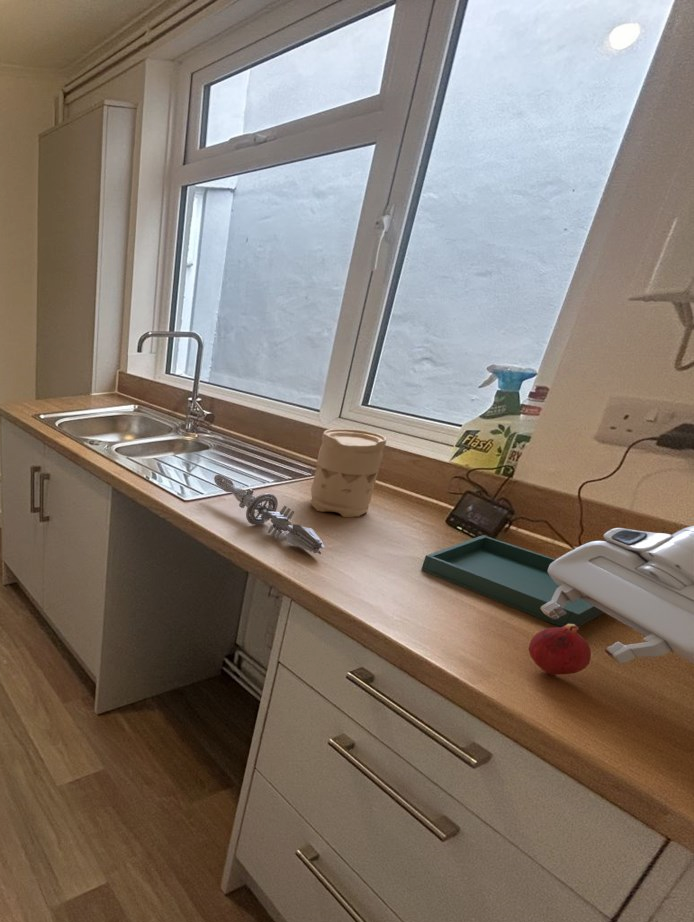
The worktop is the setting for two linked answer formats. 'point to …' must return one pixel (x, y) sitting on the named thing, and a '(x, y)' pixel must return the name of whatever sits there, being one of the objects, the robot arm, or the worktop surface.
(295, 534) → the spaceship
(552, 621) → the tray
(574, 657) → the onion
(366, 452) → the container
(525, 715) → the worktop surface
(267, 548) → the worktop surface
